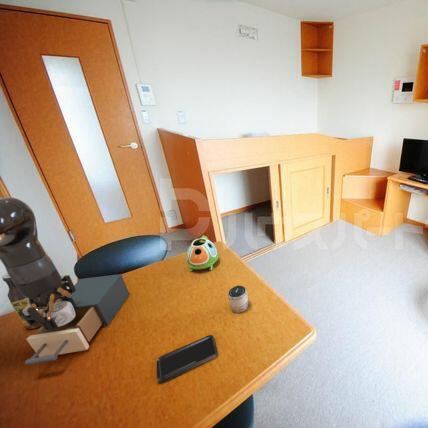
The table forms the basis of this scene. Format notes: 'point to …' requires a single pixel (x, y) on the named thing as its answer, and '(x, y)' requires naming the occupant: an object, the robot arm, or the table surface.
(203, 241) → the turtle holder
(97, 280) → the cabinet
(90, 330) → the drawer
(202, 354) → the phone
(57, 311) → the die
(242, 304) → the camera lens
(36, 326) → the sauce bottle
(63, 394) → the table surface
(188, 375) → the table surface
